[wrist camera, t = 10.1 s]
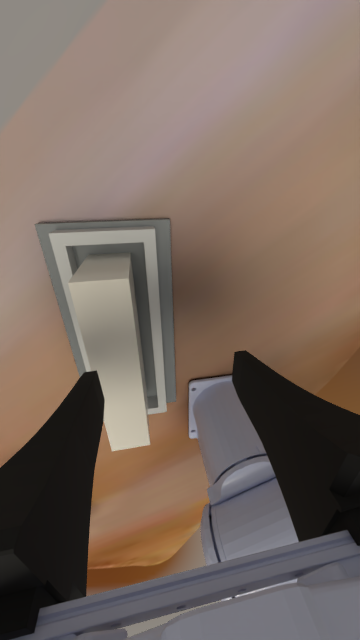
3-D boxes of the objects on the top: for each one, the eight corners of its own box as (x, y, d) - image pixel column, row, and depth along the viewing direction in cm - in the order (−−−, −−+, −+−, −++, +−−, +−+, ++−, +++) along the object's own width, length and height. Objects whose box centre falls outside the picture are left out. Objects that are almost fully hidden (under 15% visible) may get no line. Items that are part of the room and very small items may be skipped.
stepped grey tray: (175, 395, 26) (178, 412, 24) (92, 407, 25) (88, 426, 23) (168, 218, 17) (172, 221, 15) (38, 222, 16) (25, 227, 14)
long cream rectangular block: (146, 390, 24) (150, 444, 19) (117, 394, 24) (112, 451, 18) (130, 252, 17) (128, 278, 12) (88, 254, 17) (67, 282, 12)
